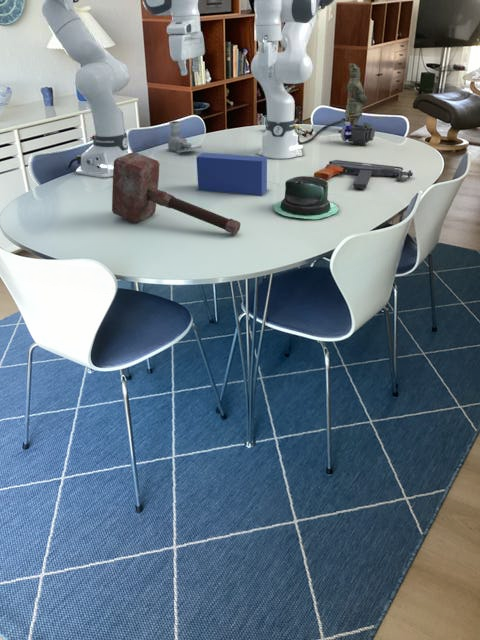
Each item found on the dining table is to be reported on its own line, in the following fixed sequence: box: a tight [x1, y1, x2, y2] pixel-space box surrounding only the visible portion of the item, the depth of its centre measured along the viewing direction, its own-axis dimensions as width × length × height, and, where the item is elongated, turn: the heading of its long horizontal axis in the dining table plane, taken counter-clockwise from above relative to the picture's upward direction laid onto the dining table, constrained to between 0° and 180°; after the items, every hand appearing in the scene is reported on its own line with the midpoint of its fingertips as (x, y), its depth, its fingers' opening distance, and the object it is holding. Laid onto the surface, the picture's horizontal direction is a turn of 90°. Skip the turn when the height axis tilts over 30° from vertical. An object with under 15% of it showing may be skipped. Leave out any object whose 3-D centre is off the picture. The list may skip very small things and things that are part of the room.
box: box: [195, 152, 268, 196], centre depth 189 cm, size 23×6×12 cm, turn 71°
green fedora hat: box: [273, 175, 339, 220], centre depth 172 cm, size 15×19×20 cm
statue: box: [344, 62, 368, 127], centre depth 262 cm, size 11×9×30 cm
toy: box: [338, 121, 376, 146], centre depth 244 cm, size 9×9×15 cm
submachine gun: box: [313, 159, 414, 190], centre depth 199 cm, size 32×3×25 cm
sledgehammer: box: [111, 151, 241, 236], centre depth 161 cm, size 17×10×40 cm
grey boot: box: [167, 120, 203, 154], centre depth 238 cm, size 9×12×15 cm
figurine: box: [295, 118, 314, 138], centre depth 267 cm, size 13×8×25 cm
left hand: (190, 73), depth 184 cm, fingers open, 8 cm apart
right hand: (267, 80), depth 189 cm, fingers open, 8 cm apart
